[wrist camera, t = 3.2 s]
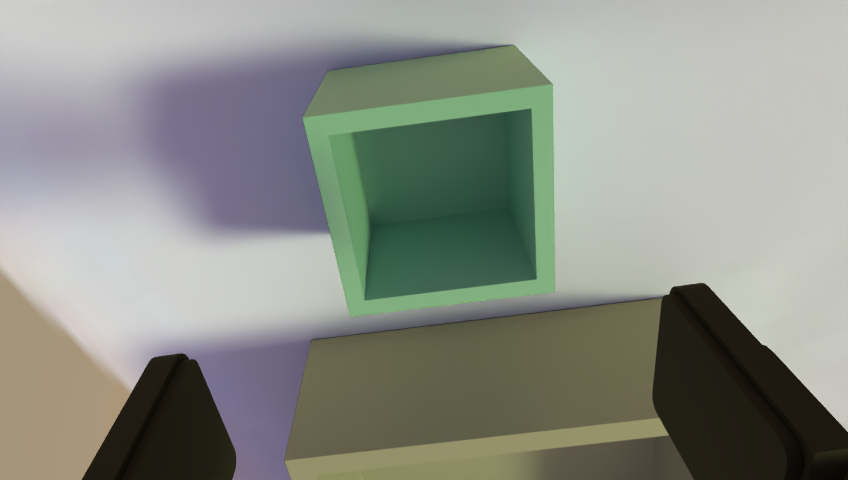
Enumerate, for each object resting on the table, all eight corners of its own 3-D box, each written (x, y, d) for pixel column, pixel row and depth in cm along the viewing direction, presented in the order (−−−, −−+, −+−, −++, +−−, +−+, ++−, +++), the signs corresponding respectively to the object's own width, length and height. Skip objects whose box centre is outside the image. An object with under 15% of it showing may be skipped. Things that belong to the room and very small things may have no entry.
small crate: (328, 70, 21) (302, 117, 15) (514, 45, 20) (552, 84, 15) (361, 233, 24) (350, 316, 19) (521, 212, 24) (554, 291, 19)
